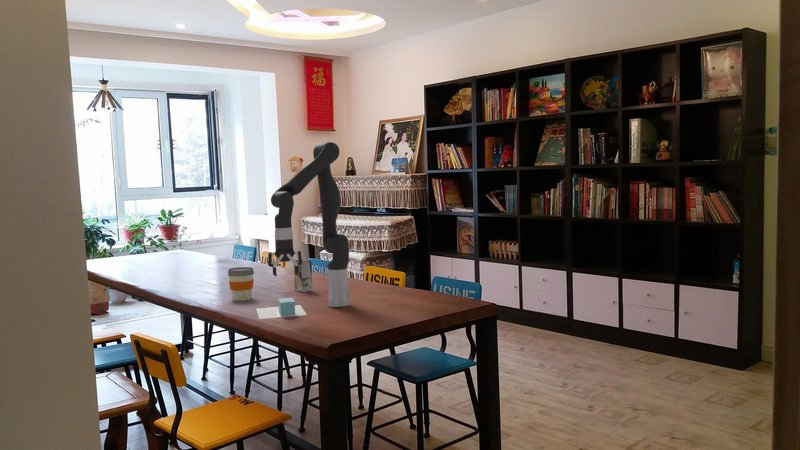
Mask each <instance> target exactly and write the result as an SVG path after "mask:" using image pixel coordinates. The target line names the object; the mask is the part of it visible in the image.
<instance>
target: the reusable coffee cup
mask: <svg viewBox="0 0 800 450" xmlns="http://www.w3.org/2000/svg"><path fill="white" fill-rule="evenodd" d="M254 274H255V272H254V268H253V267H249V266H242V267H241V266H239V267H232V268H228V271H227V275H228V278H229V280H228V284H229V290H230V291H231V296H232V300H233V301H248V300H250V299H252V295H253V289H254V281H255V279H254Z"/></svg>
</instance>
